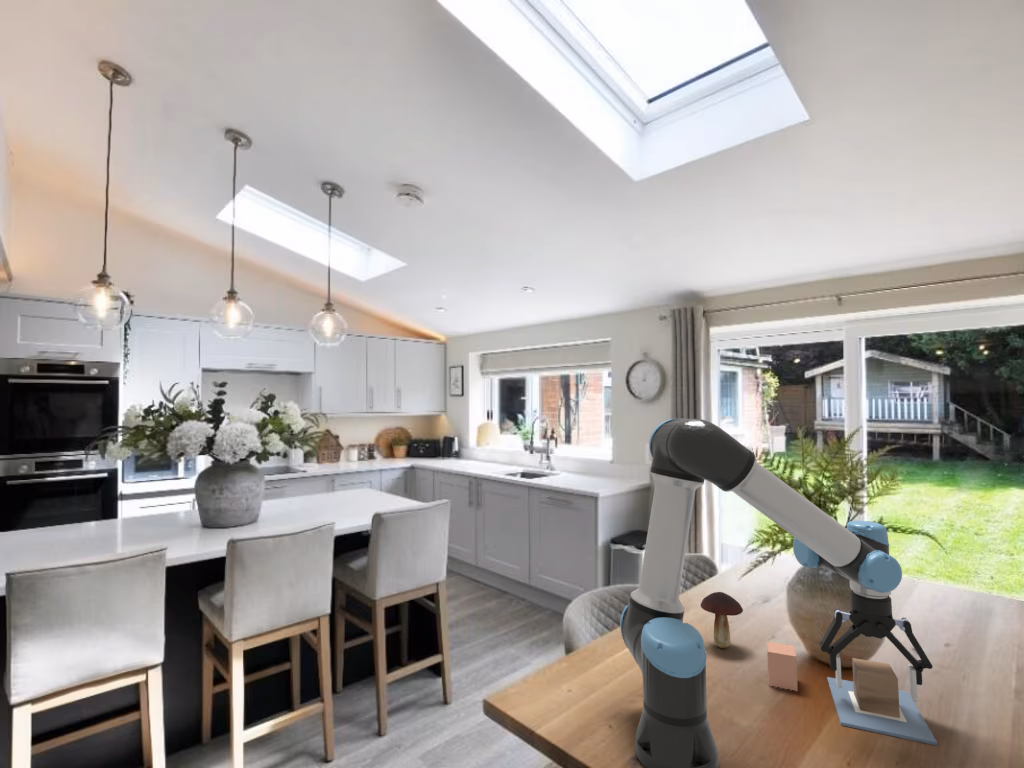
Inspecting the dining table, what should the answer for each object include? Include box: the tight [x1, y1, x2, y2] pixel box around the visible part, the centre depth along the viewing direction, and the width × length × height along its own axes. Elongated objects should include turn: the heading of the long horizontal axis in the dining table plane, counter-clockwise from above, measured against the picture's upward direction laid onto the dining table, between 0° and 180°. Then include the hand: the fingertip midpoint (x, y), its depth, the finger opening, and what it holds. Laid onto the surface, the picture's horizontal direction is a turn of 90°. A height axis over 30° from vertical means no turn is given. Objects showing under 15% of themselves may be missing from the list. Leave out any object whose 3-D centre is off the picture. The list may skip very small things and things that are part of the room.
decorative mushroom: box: [700, 591, 744, 649], centre depth 141 cm, size 11×11×15 cm
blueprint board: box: [826, 676, 938, 746], centre depth 111 cm, size 20×16×1 cm
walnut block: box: [851, 657, 900, 718], centre depth 111 cm, size 7×7×8 cm
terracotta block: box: [766, 641, 799, 692], centre depth 123 cm, size 6×6×8 cm
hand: (875, 691), depth 111 cm, fingers open, 13 cm apart
